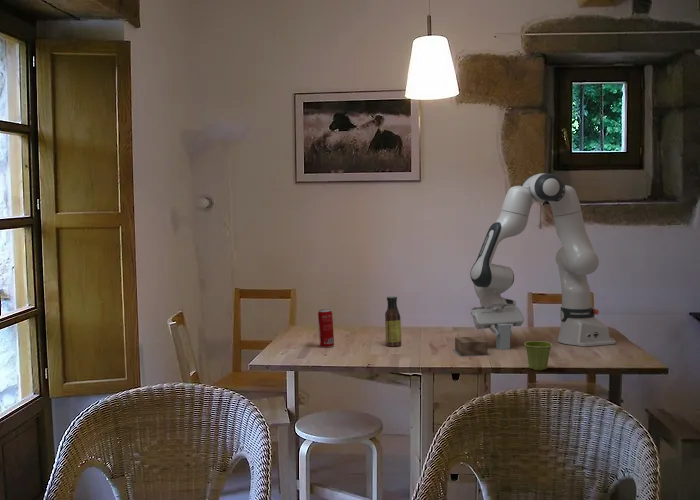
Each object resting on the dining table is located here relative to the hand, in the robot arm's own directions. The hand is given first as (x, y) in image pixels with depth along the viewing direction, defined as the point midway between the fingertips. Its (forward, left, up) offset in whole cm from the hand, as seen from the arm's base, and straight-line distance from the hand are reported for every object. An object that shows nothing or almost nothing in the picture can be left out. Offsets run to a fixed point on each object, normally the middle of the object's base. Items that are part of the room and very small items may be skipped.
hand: (504, 335), depth 285 cm
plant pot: (-3, +30, -6) cm, 30 cm away
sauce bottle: (+41, -15, -6) cm, 44 cm away
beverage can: (+68, -17, -6) cm, 71 cm away
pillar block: (0, -1, -6) cm, 6 cm away
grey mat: (+14, +4, -6) cm, 16 cm away
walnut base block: (+14, +4, -5) cm, 16 cm away
